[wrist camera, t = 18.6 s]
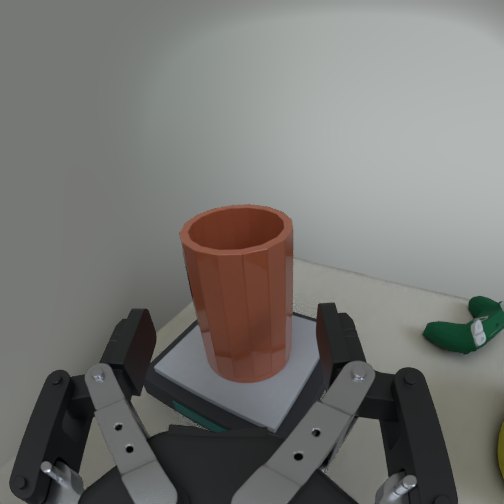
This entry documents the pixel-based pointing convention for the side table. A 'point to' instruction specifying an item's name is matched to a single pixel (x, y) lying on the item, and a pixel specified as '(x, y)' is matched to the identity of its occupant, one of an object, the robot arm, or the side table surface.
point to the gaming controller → (469, 327)
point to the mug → (501, 449)
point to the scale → (239, 384)
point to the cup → (242, 288)
